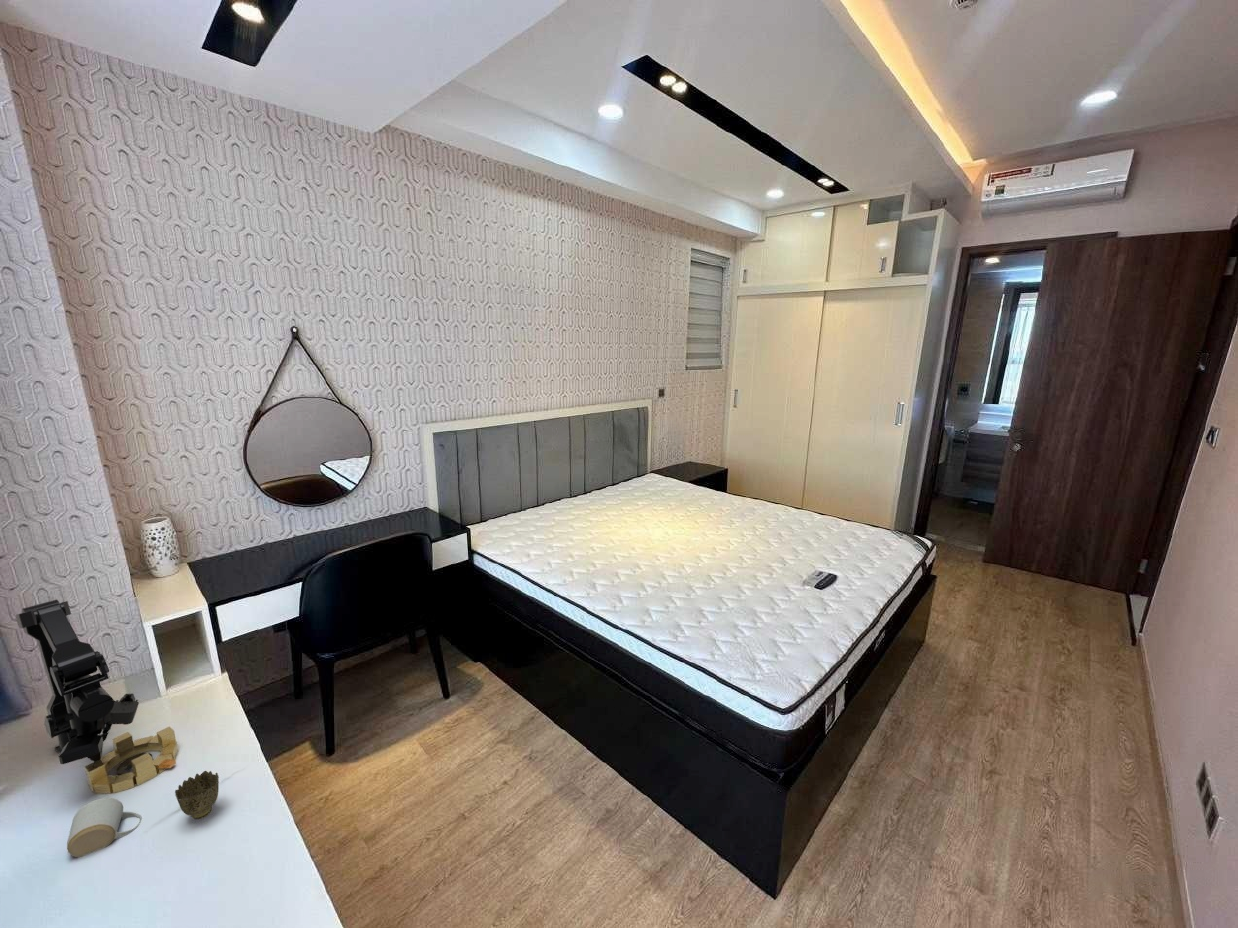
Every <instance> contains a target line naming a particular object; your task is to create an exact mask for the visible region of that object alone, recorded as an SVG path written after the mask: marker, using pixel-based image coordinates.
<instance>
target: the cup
mask: <svg viewBox="0 0 1238 928" xmlns="http://www.w3.org/2000/svg"><path fill="white" fill-rule="evenodd" d="M219 778H220V777H219V773H218V772H216V773H215V774H214V773H213V772H212V770H210V771H209V772H208V770H204V771H203V772H202V773H200V775H199V773H196V774H195V775H194V777H191V776H189V777H188V778H187V780H185V779H183V782H182V785H181V784H179V785H178V786H177V787H178V789H175V791H174V795H175V798H176V800H177V803H178V805H179V807H180V809H181V811H182V813H183V814H185V815H187V816H190V817H191V818H192V819H194V820H201V819H203V818H205V817H207V816H208V815H210V813H211V812H212V811H213V810H212V809H213V806H214V805H215V804H216V802H217V800H218V797H219V790H220V789H219V787H220V786H219V782H220V781H219Z"/></svg>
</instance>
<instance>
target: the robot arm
mask: <svg viewBox="0 0 1238 928" xmlns="http://www.w3.org/2000/svg"><path fill="white" fill-rule="evenodd" d="M71 612H72V611H71V609H70V606H69V602H68V600H67V601H61V602H60V601H59V600H58V599H57V598H56V599H53V600H49V601H45V602H41V603H38V604H34V605H30V606H27V607H22V608H21V613H18V614H15V620H16V624H17V626H18V628H19V629H23V632H24V634H26V635H27V636H29V637H30V638H32V639H34V640H35V641H36V642H37V647H38V649H39V653H40V655H41V660H42V663H43V667H44V670H45V674H46V676H47V681H48V684H49V687H50V690H51V694H52V695H51V697H50V699H49V701H48V703H47V705H46V713H47V715H45V717H44V724H43V725H44V726H45V727H44V728H45V731H46V732H47V734H48V736H49V737H50V739H53V738H55V737H57V740H58V746H55V747H54V750H55V752H57V753H58V754H59V755H58V759H59V763H60V764H61V765H66V764H69V763H72V762H73V763H74V762H76V761H79V760H83V759H86V758H87V759H88V760H90V761H92V763H93V762H95V761H98V760H101V758H102V757H103V756H102V755H103V749H104V743H105V741H106V739H107V737H108V735H109V731H110V730H111V728H112V726H113V725H126V726H128V725H130V724H132V723H133V722H134V718H135V716H136V714H137V710H138V708H139V704H140V703H139V700H138V699H136V697H135V694H134V693H125V694H124V695H123V696H122V697H121V698H120V699H119V700H118V699H117V700H116V699H114V698H113V697H112V696H111V695H110V694H109V692H108V691H106V689H104V687H102V685H101V682H103V681H106V680H109V679H110V676H109V675H108V673H110V667H109V665H108V664H107V662H106V659H105V657H104V654H102V653H101V652H100V651H99V650H97V651H95V650H94V648H93V646H92V645H91V643H87V642H84V641H80V639H79V637H78V636H77V633H76V632H75V630H74V628H73V627H72V624H71V623H70V620H69V619H68V616H70V615H72V613H71ZM98 670H99V671H100V672H98V673H97V671H98ZM95 673H96V674H95ZM91 674H93V675H91Z"/></svg>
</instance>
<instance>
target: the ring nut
mask: <svg viewBox="0 0 1238 928" xmlns="http://www.w3.org/2000/svg"><path fill="white" fill-rule="evenodd" d="M176 738H177V737H176V734H175V730H174V729H173V728H172V727H171V726H167V727H166V728H163V729H160V730H159V731H157V732H156V734H155V735H149V736H147V737H142V738H139V739H135V740H134V739H133V735H132V734H131V733H130V732H129V731H126V732H125V733H123V734H120V735H118V736H116V737H114V738H111V739H112V740H111V741H112V744H113V750H112V751H109V752H108V753H106V754H105V755H104V756H102V757H101V760H98V761H95V762H93V761H92V763H89V764H87V765H86V766H84V770H85V772H86V780H87V783H88V787H89V789H90V790H91V791H92V792H93V793H95V794H105V795H107V794H109V795H111V794H112V793H113V794H116V793H119V792H123V791H126V790H130V789H132V788H135V787H136V785H137V786H140V785H142V784H144V783H146V782H148V781H150V780H151V779H154V778H155V777H157V776H158V774H159V775H160V774H161V773H162V772H163V771H165V770H167V769H171V768H172V767H173V766H174V765H176V764H177V761H176V757H177V755H178V752H179V747H178V741H177V739H176ZM151 751H153V752H159V753H160V754H159V755H158V756H157V757H155V758H153V756H152V757H151V756H150V755H149V754H148V753H149V752H151ZM140 753H146V754H144V755H142V756H140V757H138V758H136V759H134V760H132V761H131V763H132V767H133V772H130V773H126V774H123V775H119V776H118V775H108V773H109V771H111V770H112V769H113V768H114V767H116V766H118V765H119V764H120V763H122V762H123V761H124V760H126V759H128V758H129V757H132V756H134V755H137V754H140ZM152 758H153V761H152Z"/></svg>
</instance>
